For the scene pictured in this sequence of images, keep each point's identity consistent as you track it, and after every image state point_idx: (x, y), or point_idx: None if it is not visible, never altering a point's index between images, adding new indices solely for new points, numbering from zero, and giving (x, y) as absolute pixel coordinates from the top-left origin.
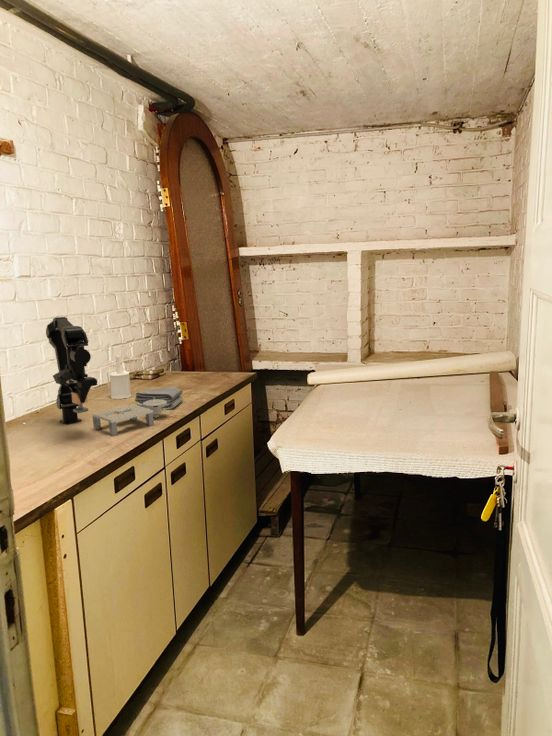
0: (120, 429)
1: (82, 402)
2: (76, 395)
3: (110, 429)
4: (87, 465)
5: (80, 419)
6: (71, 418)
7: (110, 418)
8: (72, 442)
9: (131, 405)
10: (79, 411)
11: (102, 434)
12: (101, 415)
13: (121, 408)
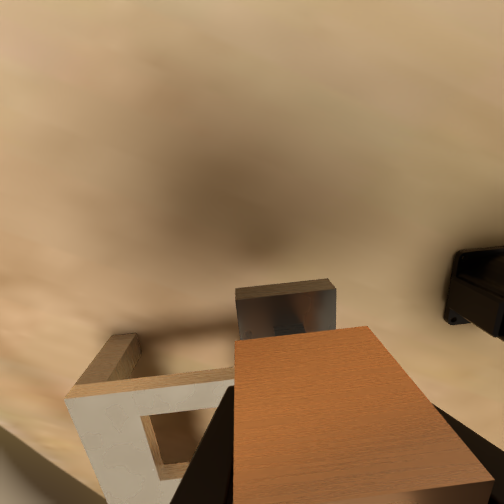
0: None
1: (226, 399)
2: (235, 463)
3: (112, 353)
4: None
5: (455, 322)
6: (467, 286)
7: (109, 407)
8: (129, 155)
9: None
10: (236, 306)
11: (166, 313)
12: (216, 394)
13: None
